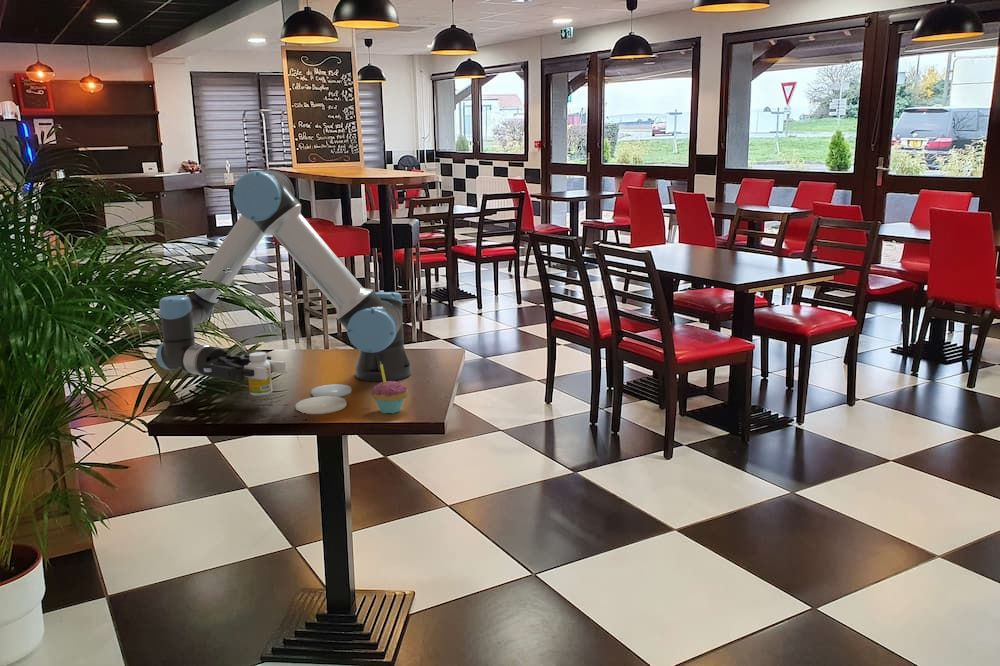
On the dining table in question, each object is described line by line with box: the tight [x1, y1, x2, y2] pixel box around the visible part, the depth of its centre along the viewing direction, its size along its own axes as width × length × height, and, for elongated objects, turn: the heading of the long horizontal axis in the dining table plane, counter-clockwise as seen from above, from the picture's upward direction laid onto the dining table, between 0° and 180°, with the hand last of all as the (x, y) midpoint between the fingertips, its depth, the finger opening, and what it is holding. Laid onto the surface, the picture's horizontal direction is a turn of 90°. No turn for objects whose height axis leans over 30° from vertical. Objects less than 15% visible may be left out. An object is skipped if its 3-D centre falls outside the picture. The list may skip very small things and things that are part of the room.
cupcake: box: [370, 362, 409, 414], centre depth 191 cm, size 9×8×12 cm
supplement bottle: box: [247, 351, 273, 397], centre depth 195 cm, size 5×5×10 cm
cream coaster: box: [295, 396, 347, 415], centre depth 196 cm, size 12×12×1 cm
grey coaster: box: [310, 383, 352, 398], centre depth 207 cm, size 10×10×1 cm
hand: (274, 370), depth 192 cm, fingers closed on supplement bottle, 5 cm apart
